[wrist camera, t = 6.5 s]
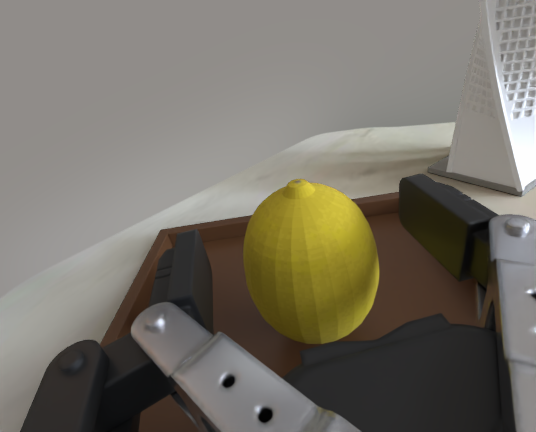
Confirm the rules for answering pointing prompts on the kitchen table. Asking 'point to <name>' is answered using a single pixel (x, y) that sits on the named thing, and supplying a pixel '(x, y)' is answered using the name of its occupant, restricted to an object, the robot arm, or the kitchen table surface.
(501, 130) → the skyscraper
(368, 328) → the tray
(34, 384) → the kitchen table surface
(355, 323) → the lemon
